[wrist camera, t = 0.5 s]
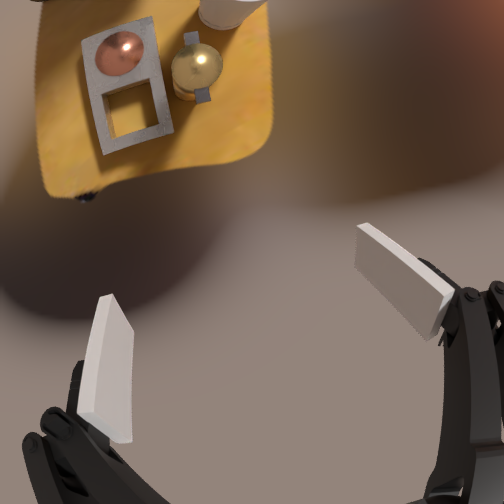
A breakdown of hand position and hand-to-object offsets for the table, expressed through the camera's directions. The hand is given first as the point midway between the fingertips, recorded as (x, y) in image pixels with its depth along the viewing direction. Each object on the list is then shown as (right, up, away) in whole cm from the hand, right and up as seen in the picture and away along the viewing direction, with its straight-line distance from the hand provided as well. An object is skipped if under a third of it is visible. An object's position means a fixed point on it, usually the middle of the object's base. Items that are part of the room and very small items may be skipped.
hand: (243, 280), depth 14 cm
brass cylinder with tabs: (-7, +22, +15) cm, 28 cm away
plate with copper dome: (-15, +22, +13) cm, 30 cm away
